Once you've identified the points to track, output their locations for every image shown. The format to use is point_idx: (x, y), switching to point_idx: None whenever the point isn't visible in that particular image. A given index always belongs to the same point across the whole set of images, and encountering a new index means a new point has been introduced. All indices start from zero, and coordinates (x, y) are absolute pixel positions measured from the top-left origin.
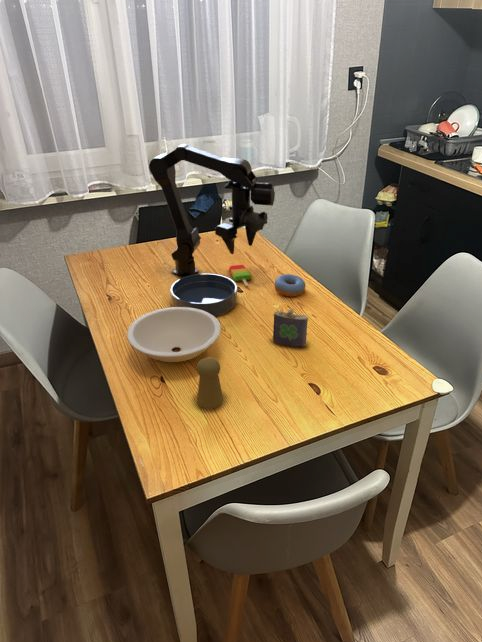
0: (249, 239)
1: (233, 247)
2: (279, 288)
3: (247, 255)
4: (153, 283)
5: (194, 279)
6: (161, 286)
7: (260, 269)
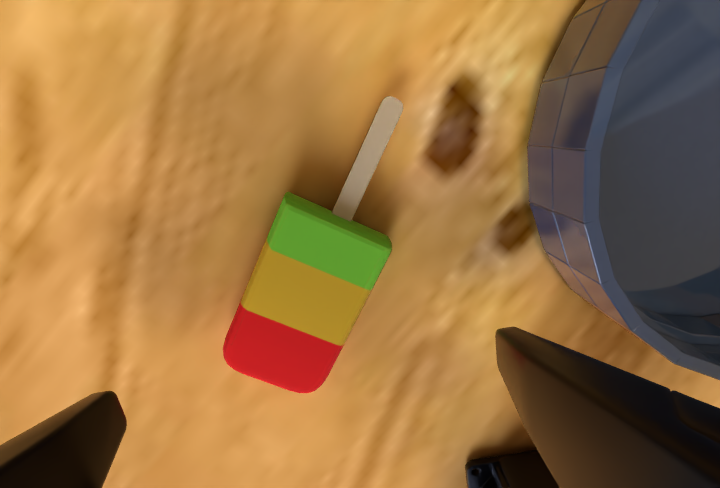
0: None
1: (589, 374)
2: None
3: None
4: None
5: (688, 346)
6: None
7: (130, 273)
